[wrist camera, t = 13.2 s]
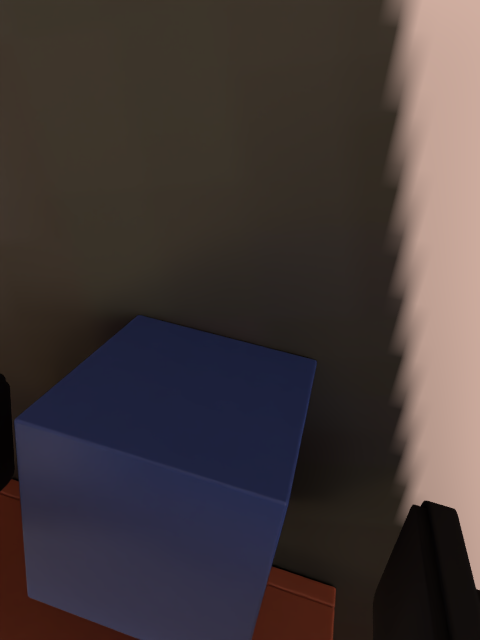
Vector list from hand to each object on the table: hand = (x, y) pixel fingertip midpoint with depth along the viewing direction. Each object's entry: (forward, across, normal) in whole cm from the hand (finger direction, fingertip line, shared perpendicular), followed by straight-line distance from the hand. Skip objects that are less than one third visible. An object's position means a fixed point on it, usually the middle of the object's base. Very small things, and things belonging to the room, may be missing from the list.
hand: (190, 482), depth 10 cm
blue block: (+2, 0, -1) cm, 2 cm away
